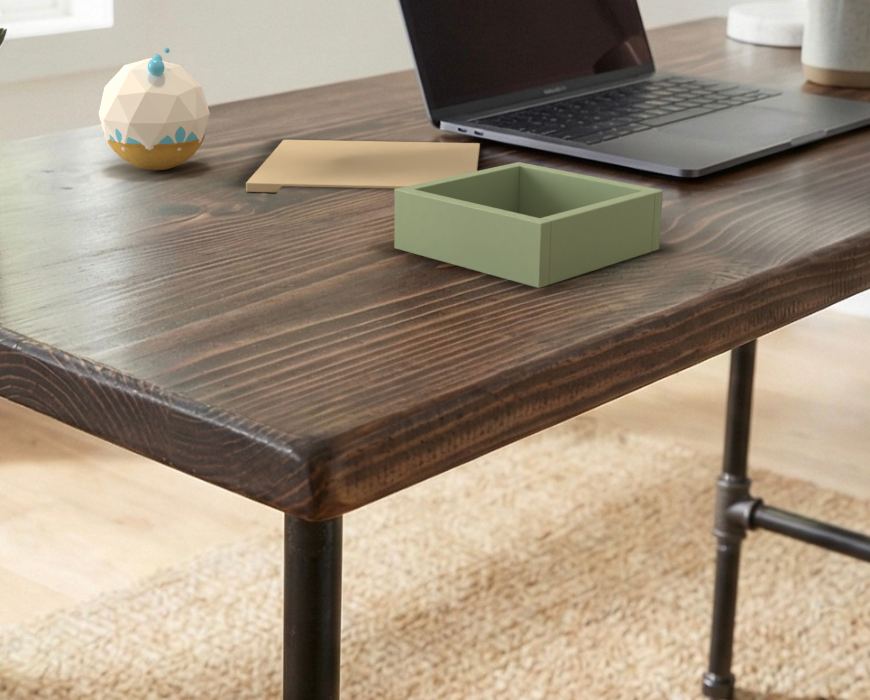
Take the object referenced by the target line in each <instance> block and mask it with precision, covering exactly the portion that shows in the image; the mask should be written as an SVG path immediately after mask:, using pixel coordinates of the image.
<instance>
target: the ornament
mask: <svg viewBox="0 0 870 700" xmlns="http://www.w3.org/2000/svg"><path fill="white" fill-rule="evenodd" d="M163 52H164V53H165V54H169V53H170V48H169V47H164V49H163ZM210 115H211V112H210V110H209V106H208V103H207V99H206V95H205V92H204V89H203V86H202V85H201V84H200V83H199V82H198V81H197V80H196V79H195V78H194V77H193V76H192V75H191V74H190V73H189V72H188V71H187V70H186V69H185V68H184V67H183V66H182V64H177V63H173V62H169V61H165V60H163V57H162V56H161V54H159V53H156V54H154V55H153V56H152V57H149V58H145V59H141V60H139V61H135V62H130V63H128V64H127V63H126V64H123V66H122V67H121V68H120V70H119V71H118V72H117V73H116V74H114V76H113V77H112V78H111V79H110V80H109V82H108V83H106V84H105V86H104V87H103V92H102V96H101V101H100V106H99V110H98V117H99V121H100V125H101V128H102V131H103V135H104V139H105V142H106V143H107V144H108V145H109V147H110V148H111V149H112V151H113V152H114V153H115V154H116V155H117V156H118V157H119V158H121V159H122V160H124V161H125V162H127V163H128V164H130V165H132V166H134V167H137V168H139V169H142V170H147V171H165V170H170V169H173V168H176V167H178V166H180V165H182V164H184V163H185V162H187V161H188V160H189V159H191V158H192V157H193V156H194V155H195V154H196V152H197V151H198V150H199V149H200V147H201V145H202V144H203V142H204V140H205V137H206V132H207V126H208V123H209V118H210Z"/></svg>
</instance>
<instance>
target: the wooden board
mask: <svg viewBox="0 0 870 700" xmlns="http://www.w3.org/2000/svg"><path fill="white" fill-rule="evenodd" d="M480 149H481V143H479V142H437V141H436V142H430V141H383V140H382V141H381V140H379V141H377V140H375V141H374V140H328V139H327V140H326V139H325V140H324V139H282V141H281V142H280V143H279V144H278V145H277V147H276V148H275V149H274V150H273V152H272V153H271V154H270V155H269V156H268V157H267V158H266V159H265V160H264V161H263V163H262V164H261V165H260V166H259V167H258V168H257V170H256V171H255V172H254V173H253V174H252V175H251V176H250V177H249V178H248V180H247V181H246V182H245V191H246V193H271V194H272V193H273V194H274V193H275V194H277V193H278V192H279V191H280V190H281V188H282V187H302V188H303V187H309V188H310V187H311V188H355V189H358V188H360V189H397V188H402V187H406V186H411V185H416V184H420V183H425V182H429V181H434V180H439V179H443V178H448V177H452V176H457V175H462V174H466V173H471V172H475V171H478V166H479V158H480Z"/></svg>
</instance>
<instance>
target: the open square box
mask: <svg viewBox="0 0 870 700" xmlns="http://www.w3.org/2000/svg"><path fill="white" fill-rule="evenodd" d="M393 191H394V192H393V196H394V197H393V198H394V199H393V201H394V202H393V203H394V210H393V211H394V212H393V213H394V214H393V215H394V216H393V217H394V221H393V223H394V225H393V226H394V233H393V234H394V239H393V240H394V245H393V246H394V249H396V250H399V251H403V252H407V253H411V254H415V255H418V256H422V257H425V258H428V259H432V260H437V261H440V262H443V263H447V264H450V265H454V266H458V267H461V268H465V269H468V270H473V271H475V272H480V273H483V274H488V275H490V276H494V277H498V278H501V279H504V280H509V281H512V282H516V283H518V284H519V283H520V284H524V285H526V286H531V287H534V288H537V289H540V288H543V287H546V286H547V287H548V286H549V285H553V284H556V283H559V282H562V281H566V280H568V279H571V278H574V277H578V276H580V275H583V274H587V273H590V272H592V271H593V272H594V271H596V270H599V269H603V268H605V267H608V266H612V265H614V264H617V263H621V262H624V261H627V260H630V259H633V258H636V257H639V256H642V255H646V254H648V253H651V252H655V251H658V250H660V243H661V242H660V241H661V228H662V214H663V199H664V190H662V189H658V188H653V187H648V186H642V185H638V184H634V183H629V182H628V183H627V182H622V181H618V180H613V179H607V178H603V177H597V176H592V175H587V174H583V173H577V172H571V171H566V170H562V169H557V168H556V169H555V168H551V167H546V166H542V165H541V166H540V165H536V164H530V163H525V162H521V161H518V162H513V163H508V164H504V165H499V166H494V167H489V168H485V169H480V170H477V171H475V172H471V173H466V174H462V175H457V176H452V177H448V178H443V179H439V180H434V181H429V182H425V183H420V184H416V185H411V186H406V187H402V188H393Z"/></svg>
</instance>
